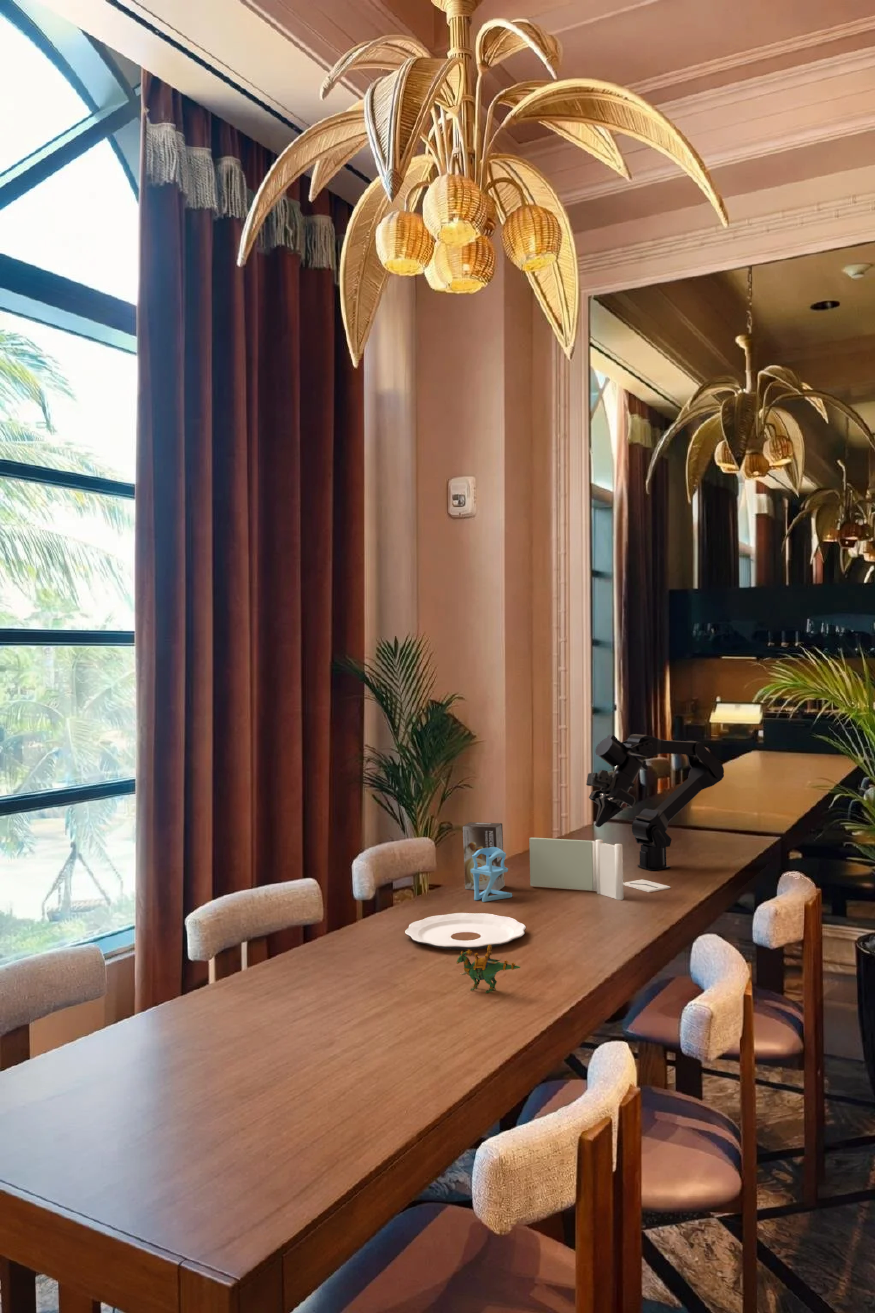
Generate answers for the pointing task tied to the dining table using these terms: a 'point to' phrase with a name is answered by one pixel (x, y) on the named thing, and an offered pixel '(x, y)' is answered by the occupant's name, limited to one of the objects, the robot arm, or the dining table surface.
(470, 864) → the coffee box
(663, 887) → the card
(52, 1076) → the dining table surface
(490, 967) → the figurine
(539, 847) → the panel
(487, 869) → the chair
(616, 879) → the fence fixed section
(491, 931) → the plate
